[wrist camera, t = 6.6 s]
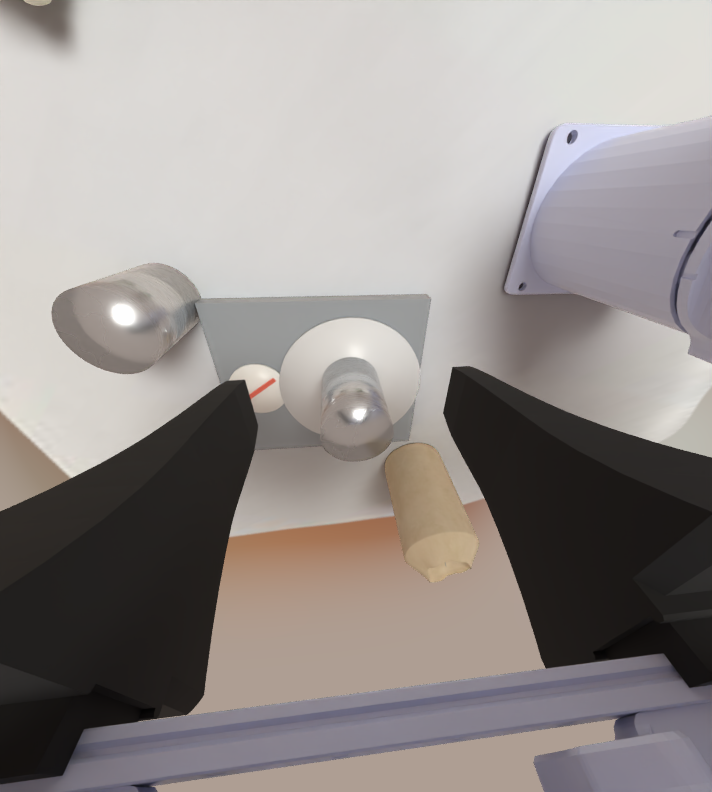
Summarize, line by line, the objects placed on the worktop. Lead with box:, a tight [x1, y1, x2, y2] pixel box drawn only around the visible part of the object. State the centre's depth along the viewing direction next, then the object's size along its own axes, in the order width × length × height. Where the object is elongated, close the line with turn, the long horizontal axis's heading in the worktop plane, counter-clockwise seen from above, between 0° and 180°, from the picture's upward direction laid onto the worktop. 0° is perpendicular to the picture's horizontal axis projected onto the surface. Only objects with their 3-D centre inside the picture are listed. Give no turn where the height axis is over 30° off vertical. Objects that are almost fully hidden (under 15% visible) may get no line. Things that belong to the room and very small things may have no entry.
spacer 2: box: [320, 357, 394, 461], centre depth 17 cm, size 4×4×6 cm
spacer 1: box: [52, 263, 201, 374], centre depth 14 cm, size 4×4×6 cm
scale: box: [195, 294, 431, 450], centre depth 20 cm, size 14×12×1 cm
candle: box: [385, 443, 479, 582], centre depth 23 cm, size 6×6×10 cm
